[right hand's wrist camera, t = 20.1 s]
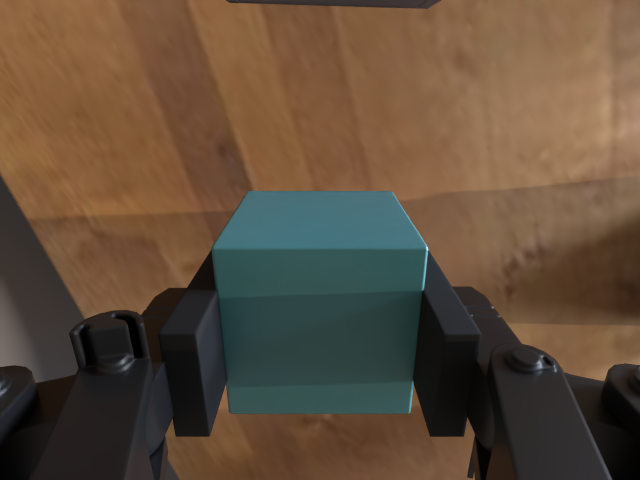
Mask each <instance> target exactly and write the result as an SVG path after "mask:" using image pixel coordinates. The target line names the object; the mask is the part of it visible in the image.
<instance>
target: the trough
mask: <svg viewBox="0 0 640 480" xmlns="http://www.w3.org/2000/svg"><path fill="white" fill-rule="evenodd" d="M226 1H228V2H229V3H257V4H290V5H323V6H356V7H389V8H422V9H427V8H429V7H431V6H432V5H434V4H436V3H437V2H439V1H441V0H226Z"/></svg>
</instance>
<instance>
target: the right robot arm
mask: <svg viewBox="0 0 640 480" xmlns="http://www.w3.org/2000/svg"><path fill="white" fill-rule="evenodd" d="M69 335H70V338H71V342H72V345H73V349H74V353H75V356H76V360H77V364H78V367H79V369H78V371H77V373H76V375H72V376H68V377H65V378H60V379H54V380H50V381H45V382H40V383H35V380H34V377H33V374H32V372H31V371H30V370H29V369H28V368H26V367H22V366H6V367H0V480H165V474H166V465H167V456H168V449H167V443H166V437H165V434H166V432H167V429H168V427H169V425H170V423H171V420H172V418H173V424H174V429H175V435H176V437H210V434H211V430H212V427H213V424H214V421H215V417H216V414H217V411H218V408H219V404H220V401H221V398H222V395H223V391H224V388H225V385H226V382H227V378H226V369H225V359H224V350H223V341H222V331H221V322H220V313H219V304H218V294H217V290H216V287H215V278H214V269H213V259H212V250H211V251H210V253H209V254H208V256H207V258H206V259H205V261H204V262H203V264H202V265H201V267H200V268H199V270H198V272H197V273H196V275H195V276H194V278H193V279H192V281H191V283H190V284H189V286H188V287H187V288H168V289H167V290H165V291H164V292H162V293H160V294H159V295H157V296H156V297H155V298H154V299H153V300H152V302H151V303H150V304H149V305H148V307H147V310H145V311H144V312H143V313H142V315H140V314H138V313H137V312H133V311H128V310H115V311H109V312H105V313H100V314H97V315H95V316H92V317H90V318H87V319H85V320H84V321H82V322H81V323H79V324H77V325H76V326H75V327H74V328H73V329H72V330H71V332H70V333H69ZM413 383H414V386H415V389H416V392H417V396H418V399H419V402H420V405H421V409H422V412H423V415H424V418H425V422H426V425H427V428H428V431H429V434H430V437H464V433H465V428H466V422H467V417H468V419H469V421H470V424H471V426H472V428H473V430H474V433H475V437H474V443H473V448H472V453H471V458H470V464H469V469H468V476H467V477H468V478H473V474H474V473H475V480H640V365H633V364H619V365H614V366H613V367H611V368H610V369H609V370H608V373H607V376H606V379H605V382H604V381H599V380H594V379H589V378H584V377H579V376H575V375H571V374H567V373H564V372H563V370H562V368H561V367H560V365H559V364H558V363H557V361H556V360H555V359H554V358H552V357H551V356H550V355H548V354H547V353H545V352H544V351H541V350H539V349H537V348H535V347H532V346H529V345H525V344H522V343H521V342H520V341H519V339H518V338H517V337H516V336H515V334H514V333H513V332H512V330H511V329H510V328H509V326H508V325H507V324H506V322H505V321H504V320H503V319H502V317H500V315H499V313H498V312H497V311H496V309H495V308H493V305H492V304H491V303H490V302H489V300H488V299H487V298H486V296H485V295H483V294H482V293H480V292H478V291H477V290H475V289H474V288H472V287H452V286H451V285H450V283H449V282H448V280H447V278H446V277H445V275H444V274H443V272H442V271H441V269H440V267H439V266H438V264H437V263H436V261H435V260H434V258H433V256H432V255H431V253H430V252H429V250H428V256H427V265H426V275H425V284H424V290H423V291H422V301H421V310H420V319H419V328H418V338H417V347H416V356H415V366H414V375H413Z"/></svg>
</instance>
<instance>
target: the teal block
mask: <svg viewBox="0 0 640 480" xmlns="http://www.w3.org/2000/svg"><path fill="white" fill-rule="evenodd" d="M211 250H212V259H213V269H214V278H215V287H216V290H217V294H218V304H219V313H220V322H221V331H222V341H223V350H224V359H225V369H226V378H227V382H226V388H227V398H228V407H229V412H230V413H231V414H408V413H410V411H411V403H412V394H413V384H414V383H413V375H414V366H415V356H416V347H417V338H418V328H419V319H420V310H421V301H422V291H423V290H424V284H425V275H426V265H427V256H428V247H427V245H426V243H425V242H424V240H423V239H422V237H421V236H420V234H419V233H418V231H417V229H416V228H415V226H414V225H413V223H412V222H411V220H410V219H409V217H408V215H407V214H406V212H405V211H404V209H403V208H402V206H401V205H400V203H399V201H398V200H397V198H396V197H395V195H394V194H393V192H391V191H248V192H247V193H246V195H245V196H244V198H243V199H242V201H241V202H240V204H239V206H238V207H237V209H236V210H235V212H234V213H233V215H232V216H231V218H230V220H229V221H228V223H227V224H226V226H225V227H224V229H223V230H222V232H221V233H220V235H219V237H218V238H217V240H216V241H215V243H214V244H213V246H212V248H211Z"/></svg>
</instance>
